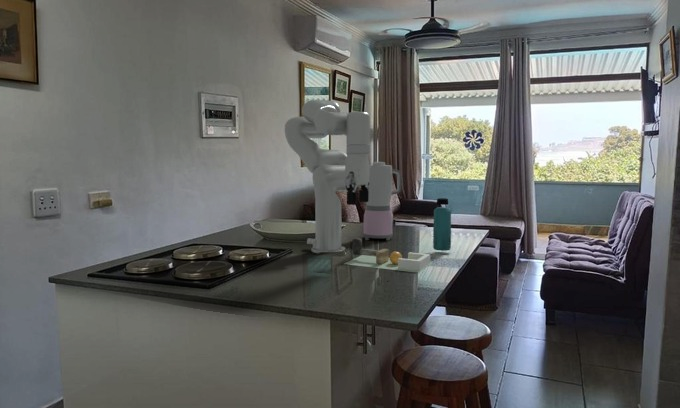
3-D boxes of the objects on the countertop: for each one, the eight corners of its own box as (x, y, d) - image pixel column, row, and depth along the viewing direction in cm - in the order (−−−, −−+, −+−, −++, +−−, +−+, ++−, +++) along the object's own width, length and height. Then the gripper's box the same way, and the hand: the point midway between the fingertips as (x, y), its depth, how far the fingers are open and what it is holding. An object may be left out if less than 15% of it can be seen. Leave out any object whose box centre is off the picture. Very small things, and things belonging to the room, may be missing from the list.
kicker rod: (349, 260, 165) (349, 240, 164) (356, 256, 170) (356, 237, 170) (382, 263, 160) (382, 243, 159) (388, 260, 165) (389, 239, 164)
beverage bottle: (451, 255, 179) (452, 199, 177) (432, 254, 180) (433, 198, 178) (450, 251, 185) (452, 197, 183) (432, 250, 187) (433, 197, 184)
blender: (363, 241, 205) (363, 162, 202) (362, 236, 217) (363, 161, 214) (402, 241, 205) (403, 162, 201) (399, 236, 217) (400, 161, 213)
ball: (387, 264, 160) (387, 252, 160) (391, 262, 164) (392, 249, 163) (399, 265, 158) (399, 253, 158) (403, 263, 162) (403, 251, 161)
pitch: (343, 266, 161) (343, 263, 161) (362, 257, 174) (362, 255, 174) (418, 275, 150) (418, 272, 150) (432, 265, 163) (432, 262, 163)
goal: (397, 268, 155) (398, 259, 155) (409, 261, 165) (409, 252, 164) (419, 271, 152) (420, 261, 152) (430, 263, 162) (430, 254, 161)
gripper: (358, 150, 172) (358, 200, 174) (335, 150, 157) (335, 205, 159) (378, 150, 169) (378, 201, 171) (357, 150, 154) (357, 206, 155)
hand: (357, 203), depth 165 cm, fingers open, 9 cm apart
